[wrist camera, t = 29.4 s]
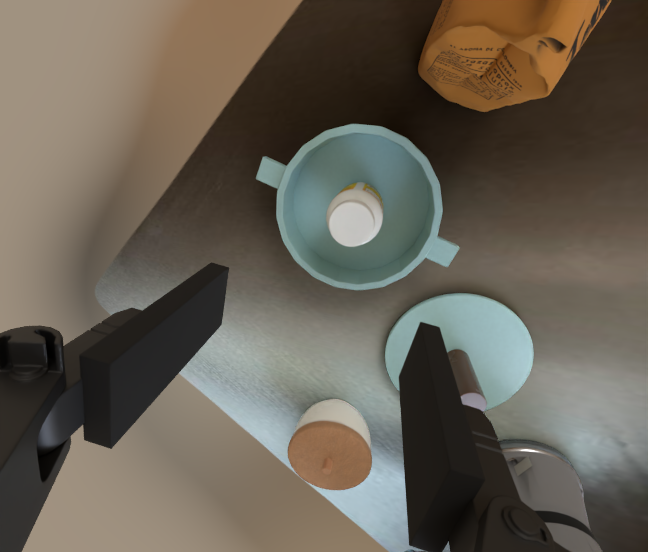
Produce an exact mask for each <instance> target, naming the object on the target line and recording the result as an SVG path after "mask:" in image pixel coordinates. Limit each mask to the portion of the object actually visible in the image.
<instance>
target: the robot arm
mask: <svg viewBox="0 0 648 552" xmlns="http://www.w3.org/2000/svg"><path fill="white" fill-rule="evenodd" d="M228 271H229V267H225V266H222V265H218V264H215V263H210V264H208V265H207V266H206V267H204V268H203V269H201V270H200V271H198V272H197V273H196V274H194V275H193V276H191V277H190V278H188V279H187V280H186V281H184V282H183V283H181V284H180V285H178V286H177V287H176V288H174V289H173V290H171V291H170V292H168V293H167V294H166V295H164V296H163V297H161V298H160V299H158V300H157V301H156V302H154V303H153V304H151V305H150V306H148V307H147V308H145V309H144V310H143V311H141V310H138V309H135V308H130V309H127V310H124V311H120V312H117V313H115V314H113V315H111V316H110V317H108V318H107V319H105V320H104V321H102V323H99V324H98V325H96V326H94V327H93V328H91V330H90V331H89V330H88V331H86V332H85V333H83V334H82V335H80V336H79V337H77V338H75V339H74V340H72V341H71V342H69V343H68V344H66V345H65V346H63V337H62V335H61V333H60V332H59V331H57V330H55V329H53V328H51V327H45V326H25V327H20V328H15V329H10V330H8V331H5V332H3V333H0V552H22V550H23V548H24V545H25V543H26V541H27V539H28V537H29V535H30V532H31V531H32V528H33V526H34V524H35V522H36V520H37V518H38V516H39V514H40V511H41V509H42V507H43V505H44V503H45V501H46V499H47V497H48V494H49V492H50V490H51V488H52V486H53V484H54V482H55V479H56V477H57V475H58V473H59V471H60V469H61V467H62V465H63V463H64V460H65V458H66V456H67V454H68V452H69V449H70V445H71V437H70V436H71V435H72V434H73V433H74V432H75V431H76V430H77V429H78V428H79V427H81V426H82V425H83V427H84V440H86V441H89V442H92V443H95V444H98V445H101V446H104V447H107V448H110V449H112V447H113V446H114V445H115V444H116V443H117V442H118V441H119V439H120V438H121V437H122V436H123V435H124V434H125V433H126V432H127V430H128V429H129V428H130V427H131V426H132V425H133V424H134V423H135V422H136V420H137V419H138V418H139V417H140V416H141V415H142V414H143V413H144V411H145V410H146V409H147V408H148V407H149V406H150V405H151V403H152V402H153V401H154V400H155V399H156V398H157V397H158V395H159V394H160V393H161V392H162V391H163V390H164V389H165V388H166V387H167V385H168V384H169V383H170V382H171V381H172V380H173V379H174V378H175V376H176V375H177V374H178V373H179V372H180V371H181V370H182V369H183V367H184V366H185V365H186V364H187V363H188V362H189V361H190V360H191V358H192V357H193V356H194V355H195V354H196V353H197V352H198V351H199V349H200V348H201V347H202V346H203V345H204V344H205V343H206V342H207V340H208V339H209V338H210V337H211V336H212V335H213V334H214V333H215V331H216V330H217V329H218V328H219V327H220V326H221V324H222V317H223V309H224V302H225V294H226V286H227V279H228ZM399 390H400V406H401V422H402V438H403V453H404V469H405V485H406V501H407V516H408V532H409V545H410V546H413V547H416V548H419V549H422V550H425V551H414V550H411V549H410V550H407V551H405V552H442V551H443V549H444V548H445V546H446V544H447V543H448V541H449V545H450V551H451V552H602V551H601V549H600V547H599V545H598V543H597V541H596V539H595V537H594V535H593V534H592V532H591V530H590V527H589V522H588V518H587V513H586V509H585V505H584V501H583V499H584V494H583V487H582V483H581V480H580V478H579V476H578V474H577V473H576V471H575V469H574V468H573V466H572V464H571V463H570V461H569V460H568V459H567V458H566V457H565V456H564V455H563V454H561V453H560V452H559V451H557V450H555V449H554V448H552V447H549V446H547V445H544V444H541V443H538V442H533V441H526V440H508V441H502V442H498V441H497V436H496V433H495V431H494V428H493V426H492V423H491V422H490V421H489V420H488V418H487V417H486V416H485V415H484V413H483V412H482V411H481V410H480V409H477V408H474V407H471V406H467V405H464V404H463V403H462V400H461V397H460V393H459V390H458V387H457V383H456V380H455V377H454V373H453V370H452V367H451V363H450V360H449V357H448V353H447V350H446V347H445V344H444V340H443V337H442V334H441V330H440V327H438V326H434V325H431V324H427V323H424V322H420V324H419V326H418V329H417V331H416V334H415V336H414V339H413V341H412V344H411V347H410V349H409V352H408V354H407V357H406V359H405V362H404V364H403V367H402V369H401V372H400V374H399Z"/></svg>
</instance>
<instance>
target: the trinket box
mask: <svg viewBox="0 0 648 552" xmlns="http://www.w3.org/2000/svg"><path fill="white" fill-rule="evenodd" d="M288 458H289V461H290V464H291V466H292V467H293V469H294V470H295V472H296V473H297V474H298V475H299V476H300V477H301V478H303V479H304V480H305V481H307V482H308V483H310V484H312V485H315V486H317V487H320V488H324V489H329V490H345V489H349V488H352V487H355V486H357V485H359V484H360V483H361V482H363V481H364V480H365V479H366V478H367V476H368V475H369V473H370V470H371V465H372V456H371V439H370V433H369V429H368V426H367V423H366V421H365V419H364V418H363V416H362V415H361V414H360V412H359V411H358V410H357V409H356V408H354V407H353V406H352V405H350V404H349V403H348V402H346V401H343V400H340V399H328V400H324V401H320V402H318V403H316V404H314V405H312V406H311V407H310V408H309V409H308V410H307V411H306V412H304V414H303V415H302V417H301V418H300V420H299V422H298V424H297V426H296V428H295V431H294V433H293V436H292V438H291V440H290V443H289V446H288Z"/></svg>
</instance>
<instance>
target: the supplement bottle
mask: <svg viewBox="0 0 648 552" xmlns="http://www.w3.org/2000/svg"><path fill="white" fill-rule="evenodd" d="M326 221H327V226H328V229H329V231H330V233H331V235H332V237H333V238H334V239H335V240H336V241H337V242H338V243H340V244H341V245H344V246H348V247H355V246H359V245H362V244H365V243H367V242H369V241H370V240H372V239H373V238H374V237H375V236H376V235H377V234H378V232H379V230H380V228H381V225H382V221H383V200H382V197H381V194H380V193H379V191H378V190H377V189H376V188H375V187H373V186H372V185H370V184H368V183H364V182H356V183H352V184H350V185H348V186H346V187H345V188H343V189H342V190H341V191H340V192H339V193H338V195H337V196H336V197H335V198H334V199H333V200H332V201H331V203H330V204H329V207H328V209H327V214H326Z"/></svg>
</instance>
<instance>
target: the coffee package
mask: <svg viewBox="0 0 648 552" xmlns="http://www.w3.org/2000/svg"><path fill="white" fill-rule="evenodd" d="M610 2H611V0H443V1H442V4H441V6H440V8H439V10H438V12H437V15H436V17H435V20H434V22H433V25H432V27H431V30H430V32H429V35H428V37H427V40H426V42H425V45H424V48H423V51H422V54H421V57H420V61H419V65H418V73H419V75H420V77H421V78H422V79H423V80H424V81H425V82H427V83H428V84H429V85H430V86H431V87H432V88H433V89H434V90H435V91H436V92H437V93H439V94H440V95H441V96H442V97H444V98H445V99H446V100H448V101H451V102H455V103H458V104H460V105H462V106H465V107H467V108H471V109H475V110H478V111H480V112H487V111H490V110H493V109H496V108H501V107H503V106H506V105H513V104H516V103H518V104H519V103H522V102H526V101H528V100H530V99H538V98H543V97H547V96H548V95H549V94H550V92H551V91H552V90H553V88H554V87H555V85H556V83H557V82H558V81H559V79H560V77H561V76H562V74H563V73H564V71H565V70H566V68H567V66H568V65H569V63H570V62H571V61H572V59H573V58H574V56H575V55H576V54H577V52H578V51H579V49H580V48H581V46H582V45H583V43H584V42H585V40H586V39H587V37H588V36H589V34H590V33H591V31H592V30H593V28H594V27H595V25H596V24H597V22H598V21H599V20H600V18H601V17H602V15H603V14H604V12H605V10H606V9H607V7H608V5H609V4H610Z"/></svg>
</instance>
